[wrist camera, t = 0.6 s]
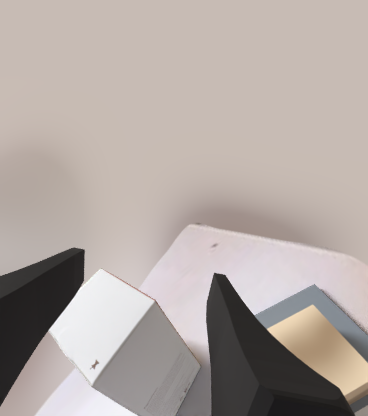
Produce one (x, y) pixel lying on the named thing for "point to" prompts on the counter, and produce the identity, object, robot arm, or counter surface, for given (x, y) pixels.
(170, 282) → the counter surface
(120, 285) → the small box
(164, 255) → the counter surface
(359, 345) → the board
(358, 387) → the maple block
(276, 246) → the counter surface
